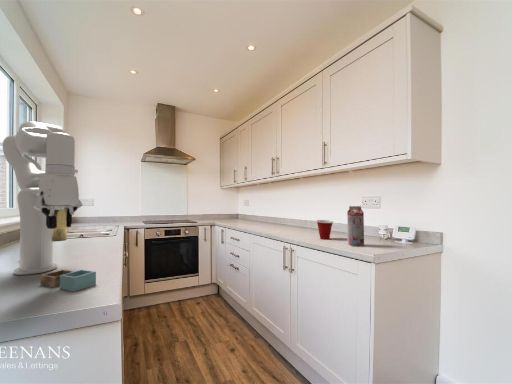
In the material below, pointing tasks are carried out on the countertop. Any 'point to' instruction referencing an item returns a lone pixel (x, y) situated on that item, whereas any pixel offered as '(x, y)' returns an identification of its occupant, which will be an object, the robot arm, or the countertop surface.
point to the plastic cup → (324, 228)
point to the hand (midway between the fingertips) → (59, 227)
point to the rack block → (77, 280)
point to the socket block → (53, 278)
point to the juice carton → (355, 226)
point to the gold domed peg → (60, 226)
